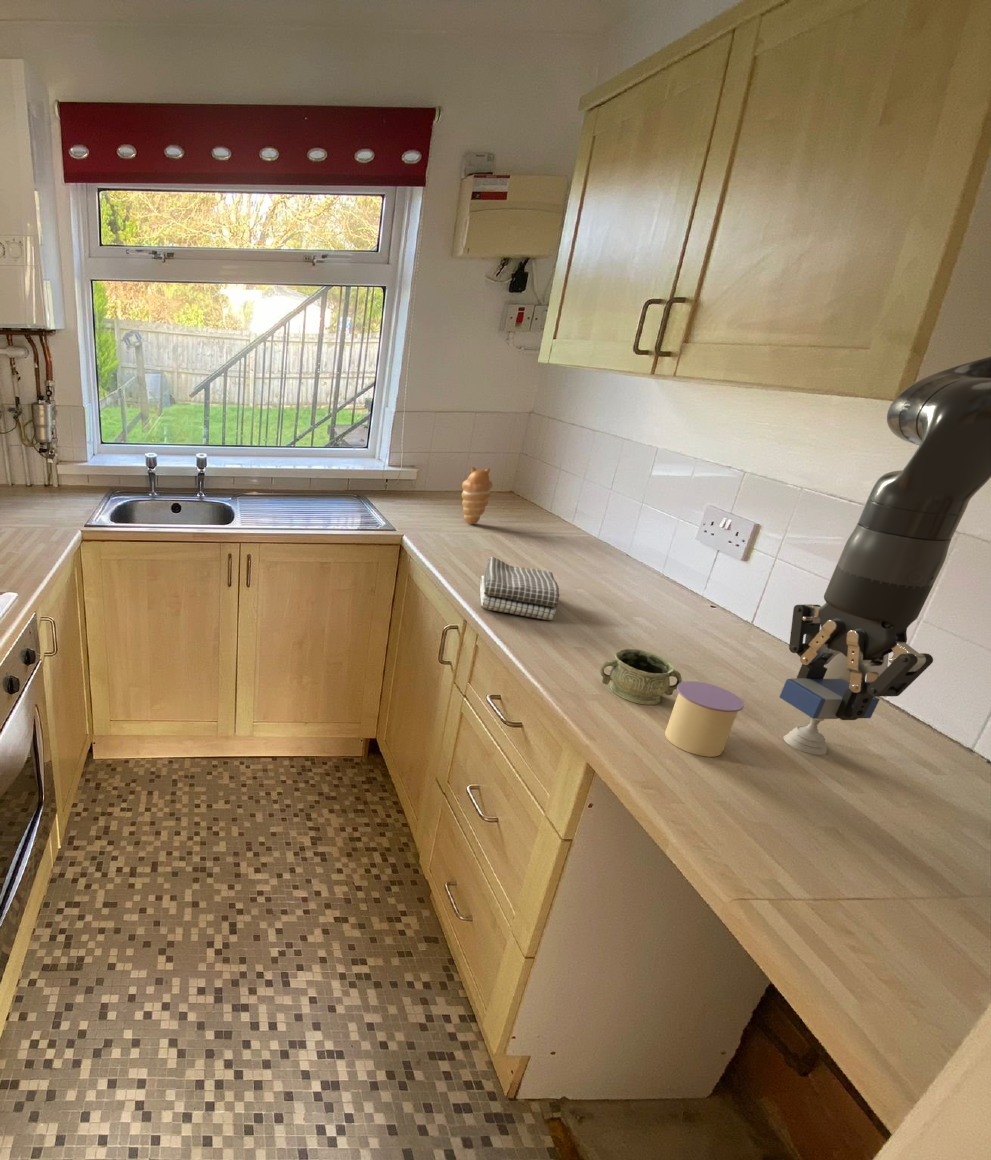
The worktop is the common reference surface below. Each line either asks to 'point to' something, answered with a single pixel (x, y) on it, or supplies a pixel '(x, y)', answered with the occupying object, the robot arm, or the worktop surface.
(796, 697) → the block
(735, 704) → the yogurt pot
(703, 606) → the worktop surface
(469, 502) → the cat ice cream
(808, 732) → the chalice
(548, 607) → the towel
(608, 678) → the vessel
